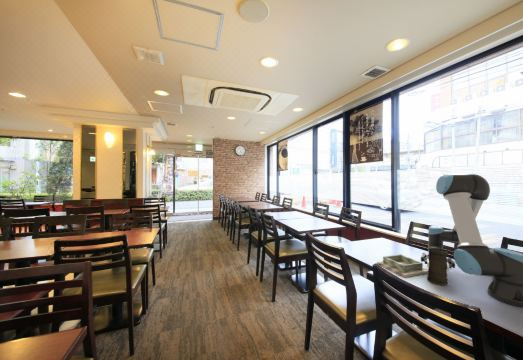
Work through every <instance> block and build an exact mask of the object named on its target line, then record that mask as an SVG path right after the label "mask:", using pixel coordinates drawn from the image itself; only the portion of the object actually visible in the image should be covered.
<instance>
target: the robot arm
mask: <svg viewBox="0 0 523 360" xmlns="http://www.w3.org/2000/svg"><path fill="white" fill-rule="evenodd" d="M435 188H436V189H435V190H436V192H437V193H438V194H439V195H442V196H443V199H444V200H446V201H447V202H448V205H449V209H450V213H451V216H452V219H453V224H454V226H453V228H452V230H451V229H450V230H449V229H444V228H443V227H441V226H438V225H437V226H436V225H431V226H429V227H428V236H427V237H428V243H427V245H428V246H427V250H428V249H429V248H439V249H443V250H444V242H447V243H458V245H456V248H457V249H455V250H454V252H453V259H452V257H447V272H450V269H456V265H457V267H458V268H459V269H460V270H461V271H462V272H464V273H465V274H466V275H467V274H468V275H472V276H473V275H474V276H485V277H492V279H491V281H490V283H489V285H488V286H487V294H488V295H489V296H490V297H492V298H494V299H495V300H498V301H499V302H502V303H505V304H507V305H511V306H515V307H520V308H523V253H522V252H519V251H515V250H511V249H507V248H503V247H493V251H490V250H489V247H490V246H488V245H487V244H485V243H484V242H483V240H482V236H481V233H480V230H479V228H478V224H477V220H476V218H477V217H478V214H479V212H480V210H481V208H482V205H483V203H484V202H485V201H487V200H488V199H489V196H490V195H491V194H490V193H491V187H490V184H489V183H488V180H487V179H486V178H484V177H483V176H481V175H480V174H476V173H475V174H474V173H468V174H467V173H456V174H455V173H449V174H442V175H440V176H439V177H438V179H437V180H436V185H435ZM427 252H428V253H425V252H422V255H421V256H420V262H422V263H423V262H424V264H425V265H426V267H427V268H429V250H428V251H427Z"/></svg>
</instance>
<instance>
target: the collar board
mask: <svg viewBox="0 0 523 360" xmlns="http://www.w3.org/2000/svg"><path fill="white" fill-rule="evenodd" d="M377 263H378V264H377ZM376 264H377V265H379V264H380V265H379V266H380V267H383V268H385V269H387V270H389V271H391V272H393V273H394V274H397V275H399V276H401V277H403V278H410V277H415V276H420V275H426V274H427V275H428V269H427V268H426V267H425V268H424V267H423V265H424V264H423V262H421V261H420V260H416V259H414V258H412V257H409V256H406V255H404V254H402V253H401V254H394V255H387V256H386V255H385V256H383V258H382V260H379V261H377V262H376Z"/></svg>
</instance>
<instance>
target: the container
mask: <svg viewBox="0 0 523 360" xmlns="http://www.w3.org/2000/svg"><path fill="white" fill-rule="evenodd" d="M427 250H429V253H428V254H429V267H428V269H427V270H428V273H427V277H426V279H427V281H428V282H430V283H432V284H435V285H438V286H448V284H449V280H448V273H447V272H448V271H447V259H448V257H447V256H448V253H449V252H448V251H447V250H445V249H444V248H443V249H439V248H429V249H428V248H427Z"/></svg>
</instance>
